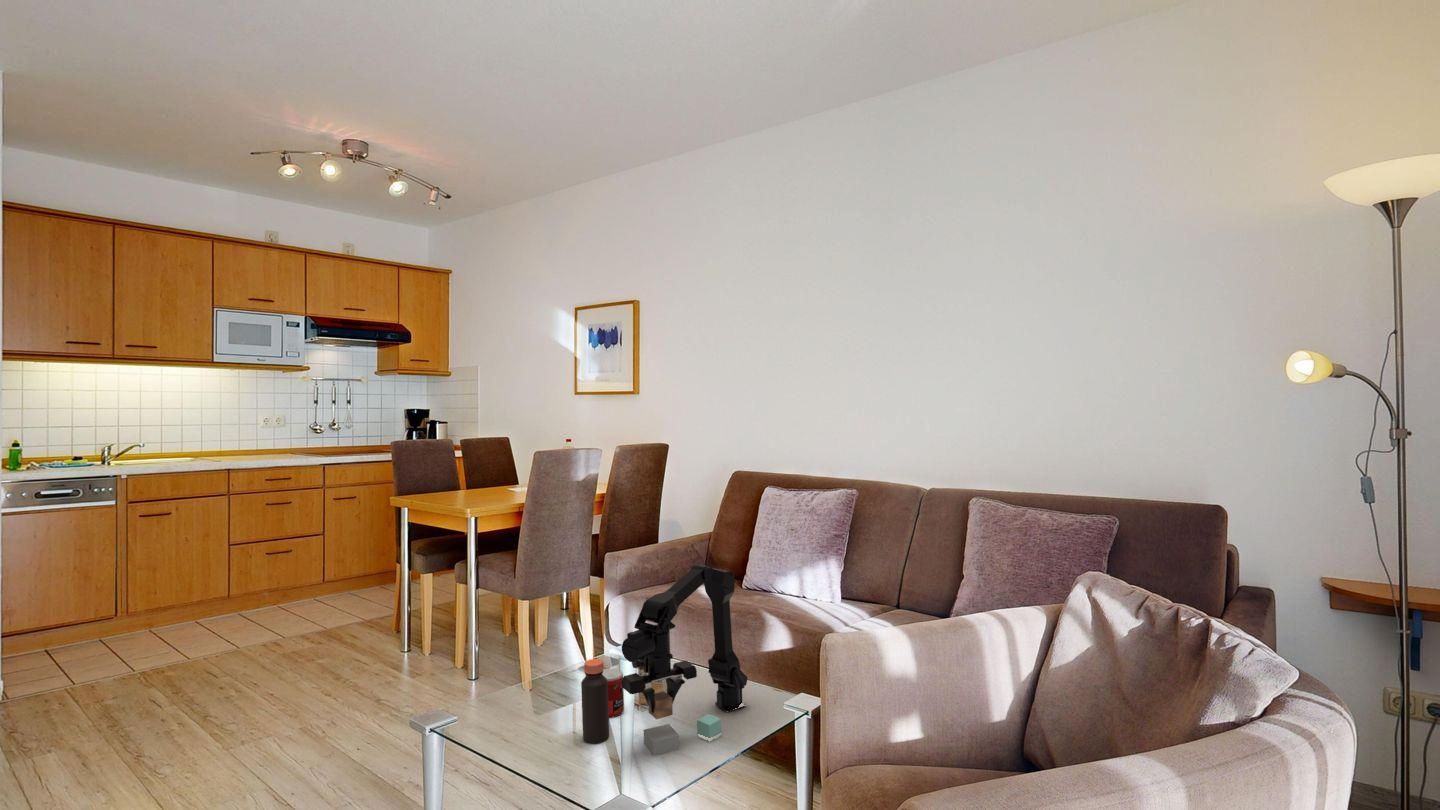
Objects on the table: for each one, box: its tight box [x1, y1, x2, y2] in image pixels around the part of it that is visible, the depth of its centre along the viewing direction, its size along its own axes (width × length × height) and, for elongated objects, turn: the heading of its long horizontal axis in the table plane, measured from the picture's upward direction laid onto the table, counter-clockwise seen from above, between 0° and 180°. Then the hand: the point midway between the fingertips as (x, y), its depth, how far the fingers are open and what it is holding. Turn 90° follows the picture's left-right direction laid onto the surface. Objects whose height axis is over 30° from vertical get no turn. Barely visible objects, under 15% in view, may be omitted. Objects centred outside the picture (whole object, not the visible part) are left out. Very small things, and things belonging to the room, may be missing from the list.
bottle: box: [580, 658, 610, 744], centre depth 194 cm, size 7×7×20 cm
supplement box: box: [637, 667, 667, 706], centre depth 214 cm, size 8×5×13 cm, turn 67°
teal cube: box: [696, 714, 723, 738], centre depth 194 cm, size 4×4×4 cm
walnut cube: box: [648, 691, 674, 720], centre depth 188 cm, size 4×4×4 cm
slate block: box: [643, 723, 681, 758], centre depth 189 cm, size 7×7×4 cm
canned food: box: [602, 667, 625, 719], centre depth 209 cm, size 8×8×11 cm
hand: (660, 709), depth 188 cm, fingers closed on walnut cube, 4 cm apart
